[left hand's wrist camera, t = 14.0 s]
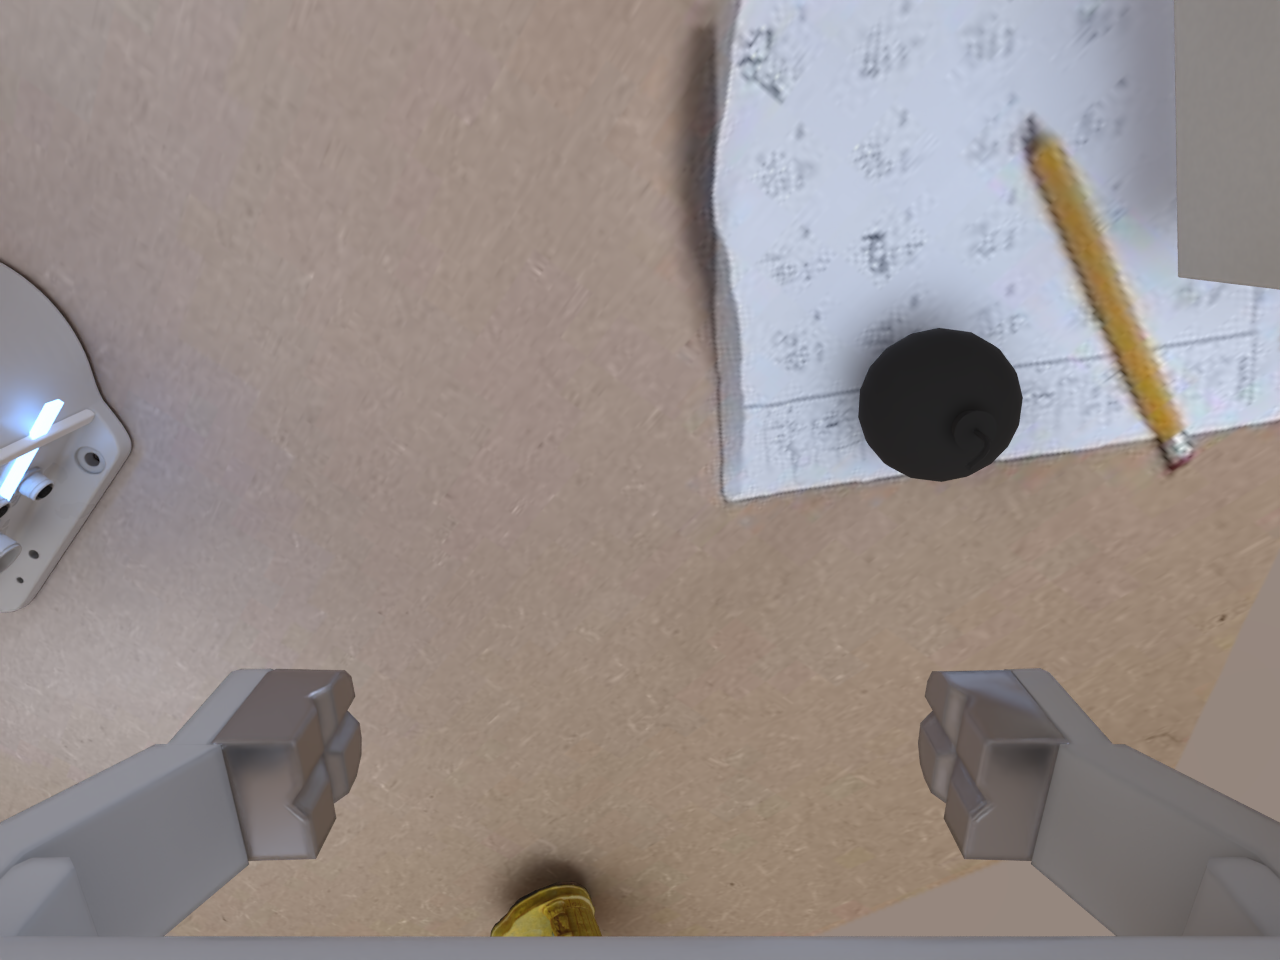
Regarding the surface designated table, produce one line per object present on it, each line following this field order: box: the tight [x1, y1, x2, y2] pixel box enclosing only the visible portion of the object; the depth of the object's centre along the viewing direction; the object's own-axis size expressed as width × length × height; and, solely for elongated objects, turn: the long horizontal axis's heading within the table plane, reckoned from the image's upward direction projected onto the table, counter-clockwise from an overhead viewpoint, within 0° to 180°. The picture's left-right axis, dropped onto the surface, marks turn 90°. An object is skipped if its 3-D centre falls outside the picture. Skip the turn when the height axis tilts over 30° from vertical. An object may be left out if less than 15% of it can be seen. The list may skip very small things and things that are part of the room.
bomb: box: [858, 328, 1023, 482], centre depth 37 cm, size 8×8×12 cm
